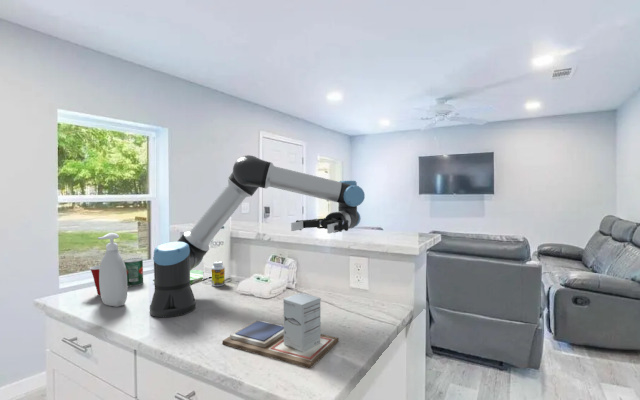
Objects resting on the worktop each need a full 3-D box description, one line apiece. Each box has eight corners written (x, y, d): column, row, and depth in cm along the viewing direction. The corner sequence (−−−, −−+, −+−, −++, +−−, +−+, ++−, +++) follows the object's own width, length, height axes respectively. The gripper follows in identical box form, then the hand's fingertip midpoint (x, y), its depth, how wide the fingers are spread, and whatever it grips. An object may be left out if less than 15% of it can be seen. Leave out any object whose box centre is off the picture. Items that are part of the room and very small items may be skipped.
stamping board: (222, 344, 95) (222, 335, 95) (258, 323, 109) (258, 316, 109) (310, 368, 82) (310, 359, 82) (338, 341, 96) (338, 333, 96)
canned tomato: (120, 284, 154) (119, 260, 154) (137, 280, 161) (136, 257, 160) (129, 287, 150) (128, 262, 149) (146, 283, 156) (146, 259, 156)
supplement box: (282, 344, 92) (282, 298, 91) (302, 335, 97) (301, 291, 97) (302, 353, 87) (301, 304, 86) (321, 343, 93) (321, 297, 92)
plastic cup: (114, 288, 149) (113, 260, 148) (125, 292, 143) (125, 264, 142) (85, 294, 140) (84, 265, 140) (97, 299, 134) (95, 269, 133)
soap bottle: (89, 305, 127) (86, 233, 126) (111, 298, 135) (108, 230, 133) (112, 311, 121) (110, 235, 120) (134, 304, 128) (132, 232, 127)
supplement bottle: (213, 287, 148) (213, 264, 148) (210, 284, 153) (209, 261, 153) (226, 285, 151) (226, 262, 151) (222, 282, 156) (222, 260, 156)
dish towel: (218, 276, 168) (217, 271, 168) (178, 289, 147) (178, 283, 147) (192, 272, 176) (191, 267, 176) (151, 284, 155) (151, 278, 155)
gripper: (368, 233, 124) (345, 242, 105) (309, 229, 136) (278, 237, 117) (368, 212, 124) (344, 217, 105) (309, 210, 136) (278, 215, 117)
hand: (309, 228), depth 111 cm, fingers open, 13 cm apart
